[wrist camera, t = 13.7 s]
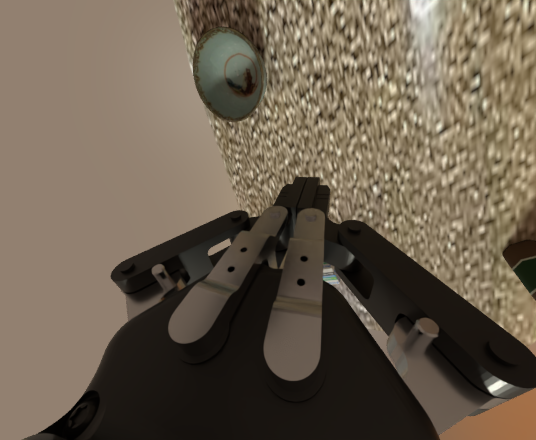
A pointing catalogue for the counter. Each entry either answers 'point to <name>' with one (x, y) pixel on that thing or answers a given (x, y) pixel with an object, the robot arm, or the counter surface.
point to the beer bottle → (523, 263)
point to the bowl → (229, 74)
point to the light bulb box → (330, 274)
